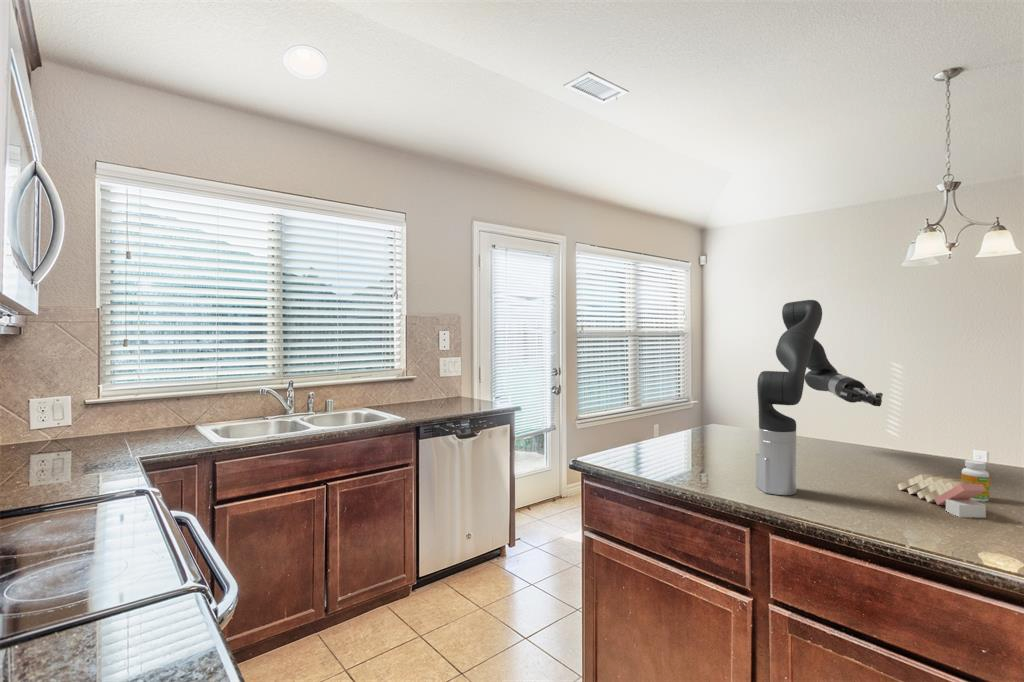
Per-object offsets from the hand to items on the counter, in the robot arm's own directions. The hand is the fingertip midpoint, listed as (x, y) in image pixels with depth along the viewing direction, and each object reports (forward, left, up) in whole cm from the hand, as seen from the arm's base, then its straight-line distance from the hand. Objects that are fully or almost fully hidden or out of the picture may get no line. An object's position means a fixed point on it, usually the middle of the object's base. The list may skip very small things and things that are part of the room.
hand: (878, 403), depth 150 cm
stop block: (+1, -30, -22) cm, 37 cm away
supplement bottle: (+13, -18, -23) cm, 32 cm away
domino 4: (+1, -21, -22) cm, 30 cm away
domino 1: (+1, -11, -22) cm, 24 cm away
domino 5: (+1, -24, -21) cm, 32 cm away
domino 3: (+1, -18, -22) cm, 28 cm away
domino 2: (+1, -15, -22) cm, 26 cm away
